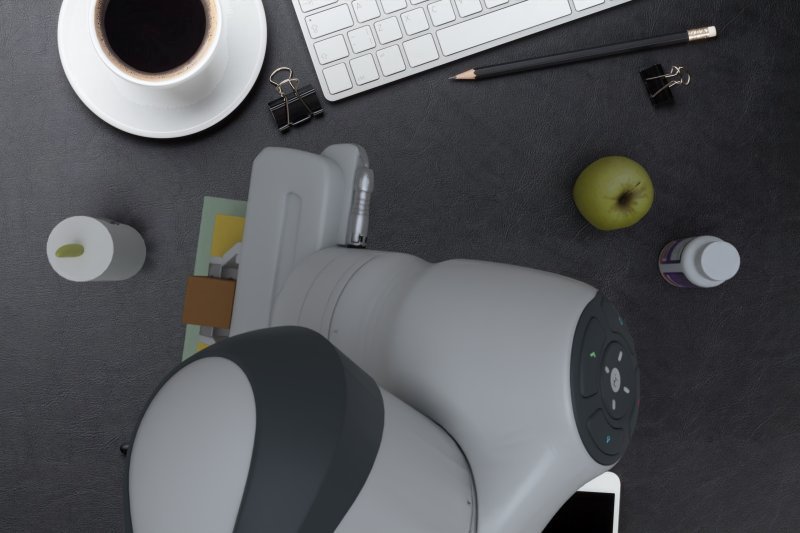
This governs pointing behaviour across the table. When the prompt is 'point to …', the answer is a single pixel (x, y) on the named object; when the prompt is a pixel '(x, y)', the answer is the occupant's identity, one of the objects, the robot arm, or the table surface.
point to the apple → (613, 193)
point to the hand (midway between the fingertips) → (212, 299)
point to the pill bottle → (698, 261)
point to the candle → (95, 249)
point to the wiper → (214, 282)
